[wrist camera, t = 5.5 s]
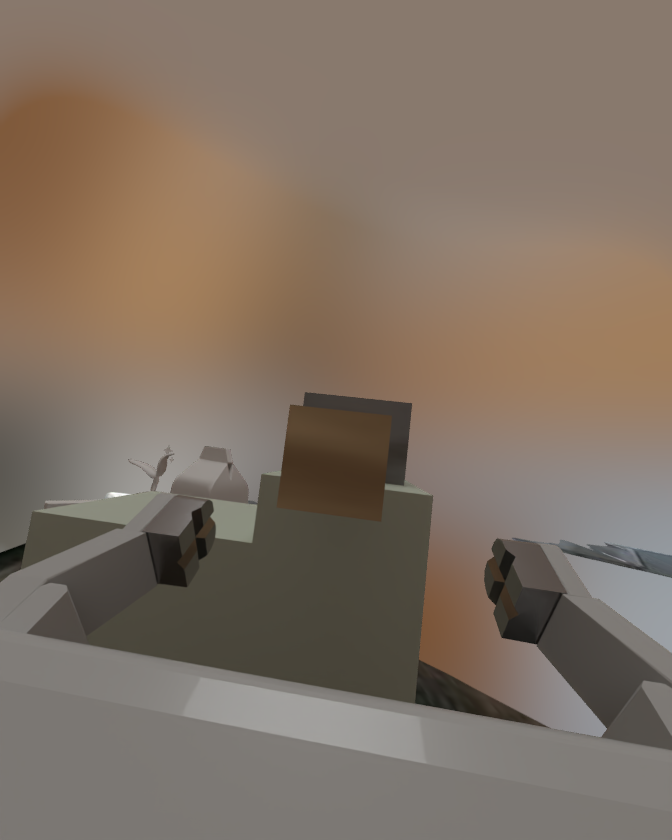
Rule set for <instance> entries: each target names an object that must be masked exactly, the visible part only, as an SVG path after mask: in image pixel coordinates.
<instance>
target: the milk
mask: <svg viewBox="0 0 672 840" xmlns="http://www.w3.org/2000/svg"><path fill="white" fill-rule="evenodd" d="M248 492H249V489H248V485H247V483H246V481H245V480H244V478H243V477H242V476H241V474H240V473H239V471H238V470H237V469H236V467H235V466H234V464H233V461H232V455H231V450H230V449H224V448H217V447H209V446H205V447H204V449H203V451H202V453H201V456H200V458H199V459H198V460H197V461H196V462H194V463H193V464H192V465H191V466H190V467H188V468H187V469H186V470H185V471H183V472H182V473H181V474H180V475H179V476H178V477H177V478H176V479H175V480H174V482H173V484H172V488H171V492H170V493H172V494H179V495H187V496H194V497H201V498H209V499H216V500H223V501H231V502H238V503H246V504H248Z"/></svg>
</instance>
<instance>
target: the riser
mask: <svg viewBox="0 0 672 840" xmlns="http://www.w3.org/2000/svg"><path fill="white" fill-rule="evenodd" d="M280 477H281V471H275V472H270V473H264V474H262V475H261V482H260V490H259V497H258V504H257V505H253V504H246V503H238V502H231V501H223V500H216V499H209V498H202V499H209V500H211V501H212V502H213V508H214V512H213V513H212V515H211V516H210V517H211V518H212V519H213V521H214V522H215V525H216V534H215V539H214V543H213V546H212V548H211V550H210V551H209V553H208V555H207V556H205V557H204V558H202V559H200V560H199V567H200V568H199V569H198V571H197V573H196V574H195V576H194V578H193V579H192V581H191V582H190V584H189V586H188V587H180V586H172V585H164V584H157V586H156V587H154V588H153V589H152V590H150V591H149V592H148V593H146V594H145V595H143V596H142V597H141V598H139V599H138V600H136V601H135V602H134V603H132V604H131V605H129V606H128V607H127V608H125V609H124V610H122V611H121V612H120V613H118V614H117V615H116V616H114V617H113V618H111V619H110V620H109V621H107V622H106V623H104V624H103V625H102V626H100V627H99V628H97V629H96V630H95V631H93V632H92V633H90V634H89V635H88V636H86V637H87V639H88V642H89V644H90V645H93V646H98V647H104V648H109V649H115V650H120V651H126V652H131V653H137V654H142V655H148V656H153V657H159V658H165V659H170V660H176V661H181V662H187V663H192V664H198V665H203V666H208V667H214V668H219V669H225V670H230V671H236V672H241V673H247V674H252V675H258V676H263V677H269V678H274V679H280V680H285V681H291V682H296V683H302V684H308V685H313V686H319V687H324V688H330V689H335V690H341V691H346V692H352V693H357V694H363V695H369V696H374V697H380V698H385V699H391V700H396V701H402V702H407V703H413V704H415V695H416V683H417V672H418V661H419V649H420V638H421V627H422V615H423V604H424V591H425V581H426V570H427V558H428V548H429V536H430V525H431V514H432V513H431V512H432V502H433V495H431V494H429V493H427V492H425V491H424V490H422V489H420V488H418V487H416V486H415V485H413V484H411V483H409V482H407V481H406V480H405V481H404V486H402V485H394V484H386V483H385V489H384V499H383V509H382V519H381V522H379V521H372V520H365V519H357V518H350V517H343V516H335V515H328V514H320V513H313V512H306V511H298V510H291V509H283V508H276V507H277V500H278V492H279V485H280ZM160 493H164V492H157V491H150V492H144V493H138V494H132V495H126V496H120V497H114V498H108V499H102V500H96V501H90V502H84V503H78V504H72V505H66V506H60V507H54V508H48V509H42V510H36V511H33V512H32V517H31V522H30V527H29V532H28V537H27V541H26V546H25V551H24V556H23V561H22V566H21V570H22V569H24V568H26V567H29V566H31V565H33V564H36V563H38V562H40V561H43V560H45V559H47V558H50V557H52V556H54V555H57V554H59V553H61V552H64V551H66V550H68V549H70V548H73V547H75V546H77V545H80V544H82V543H84V542H87V541H89V540H91V539H94V538H96V537H98V536H101V535H103V534H105V533H108V532H110V531H112V530H115V529H123V528H124V527H125V526H126V525H127V524H128V523H129V522H130V521H131V520H132V519H133V518H134V517H135V516H136V515H137V514H138V513H139V512H140V511H141V510H142V509H143V508H144V507H145V506H146V505H147V504H148V503H149V502H150V501H151V500H152V499H153V498H154V497H155V496H156V495H157V494H160ZM169 494H172V493H169ZM175 495H179V494H175ZM184 496H187V495H184ZM190 497H194V496H190ZM196 498H201V497H196Z"/></svg>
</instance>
